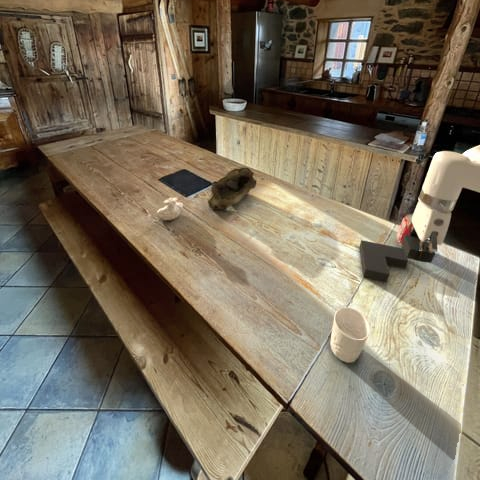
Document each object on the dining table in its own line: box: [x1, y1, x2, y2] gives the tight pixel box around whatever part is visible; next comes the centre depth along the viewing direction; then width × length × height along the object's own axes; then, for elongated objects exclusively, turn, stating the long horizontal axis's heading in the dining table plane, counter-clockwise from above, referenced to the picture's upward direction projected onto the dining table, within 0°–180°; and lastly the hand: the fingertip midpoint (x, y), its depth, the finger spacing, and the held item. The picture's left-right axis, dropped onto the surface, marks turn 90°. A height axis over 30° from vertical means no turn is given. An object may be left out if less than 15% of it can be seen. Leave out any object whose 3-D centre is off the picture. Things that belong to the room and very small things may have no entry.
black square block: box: [401, 235, 436, 264], centre depth 75 cm, size 6×6×4 cm
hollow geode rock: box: [207, 167, 258, 211], centre depth 124 cm, size 28×13×15 cm
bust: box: [155, 196, 184, 221], centre depth 110 cm, size 12×8×11 cm
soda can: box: [395, 213, 413, 248], centre depth 98 cm, size 7×7×12 cm
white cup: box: [329, 306, 371, 364], centre depth 64 cm, size 8×8×10 cm
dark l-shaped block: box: [359, 239, 409, 283], centre depth 90 cm, size 14×14×4 cm
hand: (416, 251), depth 76 cm, fingers closed on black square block, 6 cm apart
